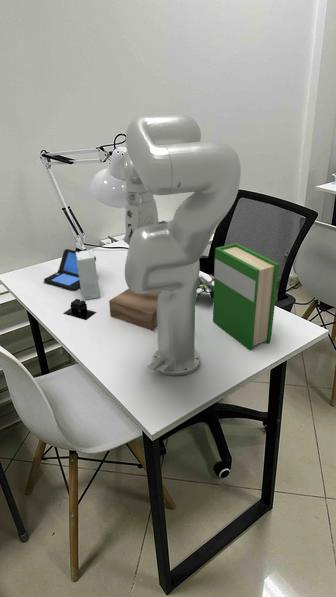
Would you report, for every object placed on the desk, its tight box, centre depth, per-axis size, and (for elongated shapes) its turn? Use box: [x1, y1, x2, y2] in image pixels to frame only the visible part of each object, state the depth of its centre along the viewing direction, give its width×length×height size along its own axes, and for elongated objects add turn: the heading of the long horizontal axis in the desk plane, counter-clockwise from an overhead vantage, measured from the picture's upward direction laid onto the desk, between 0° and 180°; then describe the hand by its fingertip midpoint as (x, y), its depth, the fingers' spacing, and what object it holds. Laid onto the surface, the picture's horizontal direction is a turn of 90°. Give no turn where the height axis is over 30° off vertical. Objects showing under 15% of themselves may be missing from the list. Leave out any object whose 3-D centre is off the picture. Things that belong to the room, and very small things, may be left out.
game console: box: [43, 248, 97, 292], centre depth 157 cm, size 16×14×9 cm
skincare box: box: [76, 249, 101, 301], centre depth 146 cm, size 8×6×15 cm
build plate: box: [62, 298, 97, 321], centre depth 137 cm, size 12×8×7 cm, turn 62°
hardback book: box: [212, 242, 280, 352], centre depth 120 cm, size 18×7×24 cm, turn 29°
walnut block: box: [108, 288, 161, 331], centre depth 136 cm, size 16×16×6 cm
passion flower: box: [195, 274, 214, 301], centre depth 141 cm, size 11×11×12 cm
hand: (143, 256), depth 128 cm, fingers closed on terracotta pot, 5 cm apart
